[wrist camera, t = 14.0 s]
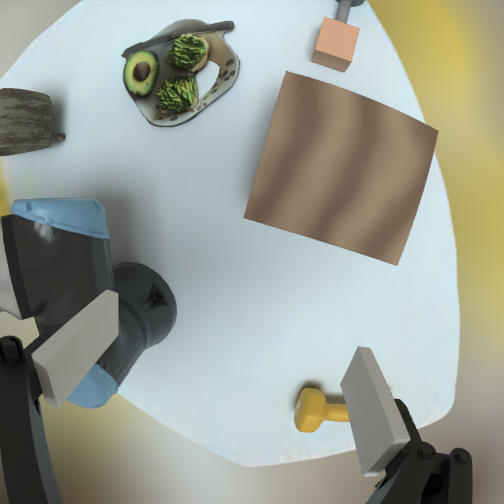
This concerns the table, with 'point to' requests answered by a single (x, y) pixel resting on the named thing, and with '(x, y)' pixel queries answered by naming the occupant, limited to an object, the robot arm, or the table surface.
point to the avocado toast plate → (178, 70)
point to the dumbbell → (316, 410)
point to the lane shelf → (341, 169)
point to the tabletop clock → (25, 121)
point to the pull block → (337, 39)
